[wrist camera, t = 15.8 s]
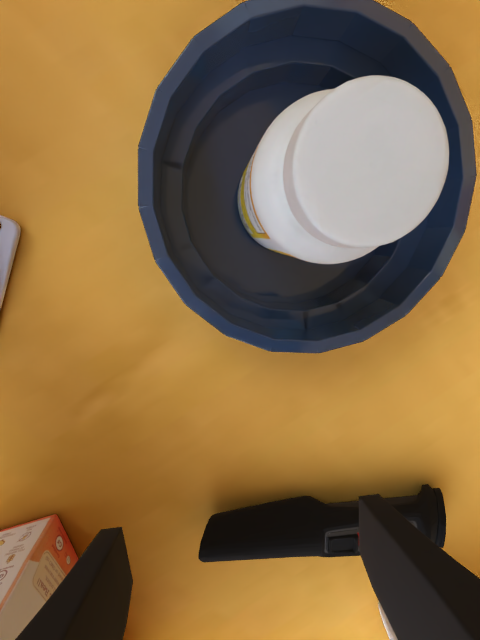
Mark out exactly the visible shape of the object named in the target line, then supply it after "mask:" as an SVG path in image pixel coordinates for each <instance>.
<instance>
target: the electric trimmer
mask: <svg viewBox="0 0 480 640" xmlns="http://www.w3.org/2000/svg"><path fill="white" fill-rule="evenodd" d="M383 499H385V500H386V501H387V502H388V503H389V504H390V505H391V506H392V507H394V508H395V509H396V510H397V511H398V512H399V513H400V514H401V515H403V516H404V517H405V518H406V519H407V520H408V521H409V522H410V523H412V524H413V525H414V526H415V527H416V528H417V529H418V530H420V531H421V532H422V533H423V534H424V535H425V536H427V537H428V538H429V539H430V540H431V541H433V542H434V543H435V544H436V545H437V546H439V547H441V548H443V546H444V542H445V535H446V513H445V506H444V500H443V495H442V492H441V490H440V488H433V489H432V488H431V487H430V486H429V485H428V484H425V485H422V489H421V491H420V492H419V493H418V495H412V496H403V497H393V498H383ZM359 555H360V552H359V501H350V502H339V503H329V504H325V503H323V502H321V501H318V500H316V499H314V498H312V497H310V496H301V497H295V498H289V499H284V500H279V501H274V502H269V503H264V504H259V505H254V506H249V507H245V508H240V509H235V510H230V511H225V512H220V513H217V514H214V515H212V516H211V517H210V519H209V521H208V523H207V525H206V528H205V531H204V534H203V537H202V540H201V543H200V549H199V559H200V561H202V562H216V561H233V560H250V559H268V558H285V557H306V556H320V557H340V556H359Z"/></svg>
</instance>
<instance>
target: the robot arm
mask: <svg viewBox="0 0 480 640" xmlns="http://www.w3.org/2000/svg"><path fill="white" fill-rule="evenodd" d="M0 223H1V229H0V310H1V306H2V303H3V299H4V295H5V291H6V287H7V283H8V279H9V276H10V272H11V268H12V264H13V260H14V256H15V253H16V249H17V245H18V241H19V237H20V233H21V229H20V226H19V224H18V223H17V222H16V221H14V220H12V219H10V218H7V217H4V216H2V215H0ZM359 552H360V555H361V557H362V560H363V563H364V566H365V568H366V571H367V574H368V577H369V579H370V582H371V584H372V587H373V590H374V592H375V594H376V596H377V598H378V600H379V602H380V604H381V606H382V608H383V610H384V613H385V615H386V617H387V619H388V621H389V623H390V625H391V627H392V629H393V631H394V633H395V635H396V637H397V639H398V640H480V579H479V578H478V577H477V576H475V575H474V574H473V573H471V572H470V571H469V570H467V569H466V568H465V567H464V566H462V565H461V564H460V563H458V562H457V561H456V560H455V559H453V558H452V557H451V556H450V555H448V554H447V553H446V552H445V551H443V550H442V549H441V548H440V547H439V546H437V545H436V544H435V543H434V542H433V541H431V540H430V539H429V538H428V537H427V536H425V535H424V534H423V533H422V532H421V531H420V530H418V529H417V528H416V527H415V526H414V525H413V524H412V523H410V522H409V521H408V520H407V519H406V518H405V517H404V516H403V515H401V514H400V513H399V512H398V511H397V510H396V509H395V508H394V507H392V506H391V505H390V504H389V503H388V502H387V501H386V500H385V499H383V498H382V497H381V496H380V495H379V494H374V495H366V496H359ZM132 584H133V579H132V574H131V570H130V565H129V560H128V555H127V550H126V545H125V540H124V535H123V530H122V527H117V528H109V529H101V530H100V532H99V533H98V534H97V535H96V537H95V538H94V539H93V541H92V542H91V543H90V545H89V546H88V547H87V549H86V550H85V551H84V553H83V554H82V556H81V557H80V558H79V560H78V561H77V562H76V564H75V565H74V566H73V568H72V569H71V570H70V572H69V573H68V574H67V576H66V577H65V578H64V580H63V581H62V582H61V583H60V585H59V586H58V587H57V589H56V590H55V591H54V592H53V594H52V595H51V596H50V598H49V599H48V600H47V601H46V603H45V604H44V605H43V606H42V608H41V609H40V610H39V611H38V613H37V614H36V615H35V616H34V617H33V619H32V620H31V621H30V622H29V623H28V625H27V626H26V627H25V628H24V629H23V631H22V632H21V633H20V634H19V635H18V637H17V638H16V639H15V640H123V636H124V632H125V627H126V623H127V617H128V611H129V605H130V598H131V591H132Z"/></svg>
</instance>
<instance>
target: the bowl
mask: <svg viewBox="0 0 480 640" xmlns="http://www.w3.org/2000/svg"><path fill="white" fill-rule="evenodd" d="M372 75H380V76H389V77H395V78H398V79H401V80H404V81H406V82H408V83H410V84H412V85H413V86H415V87H417V88H418V89H419V90H420V91H422V92H423V93H424V94H425V95H426V96H427V97H428V98H429V99H430V100H431V101H432V103H433V104H434V105H435V107H436V108H437V110H438V112H439V114H440V116H441V118H442V120H443V123H444V125H445V128H446V132H447V137H448V143H449V166H448V172H447V176H446V180H445V183H444V186H443V188H442V191H441V193H440V196H439V198H438V200H437V202H436V203H435V205H434V207H433V208H432V210H431V211H430V212H429V214H428V215H427V216H426V218H425V219H424V220H423V221H422V222H421V223H420V224H419V225H418V226H417V227H416V228H414V229H413V230H412V231H411V232H409V233H408V234H406V235H404V236H403V237H401V238H399V239H397V240H395V241H394V242H391V243H388V244H385V245H381V246H378V247H377V248H376V249H374V250H373V251H371V252H369V253H368V254H366V255H364V256H362V257H360V258H357V259H354V260H351V261H348V262H343V263H337V264H319V263H312V262H308V261H304V260H301V259H298V258H295V257H291V256H288V255H284V254H281V253H277V252H274V251H271V250H269V249H267V248H265V247H263V246H262V245H260V244H259V243H257V242H256V241H255V240H254V239H253V238H252V237H251V236H250V234H249V233H248V232H247V230H246V229H245V227H244V225H243V223H242V220H241V218H240V214H239V209H238V188H239V184H240V180H241V178H242V175H243V173H244V171H245V169H246V167H247V165H248V163H249V161H250V159H251V157H252V155H253V154H254V152H255V150H256V148H257V146H258V144H259V142H260V141H261V139H262V137H263V135H264V134H265V132H266V130H267V129H268V127H269V126H270V125H271V123H272V122H273V121H274V120H275V118H276V117H277V116H278V115H279V114H280V113H281V112H283V111H284V110H285V109H286V108H287V107H289V106H290V105H291V104H293V103H294V102H296V101H297V100H299V99H301V98H303V97H305V96H307V95H309V94H312V93H315V92H318V91H323V90H328V89H335V88H337V87H338V86H340V85H342V84H343V83H345V82H347V81H350V80H353V79H356V78H360V77H365V76H372ZM138 147H139V148H138V206H139V212H140V215H141V218H142V221H143V225H144V228H145V231H146V234H147V237H148V241H149V244H150V247H151V250H152V253H153V257H154V259H155V260H156V261H155V262H156V263H157V265H158V266H159V268H160V269H161V271H162V272H163V274H164V275H165V276H166V278H167V279H168V281H169V282H170V284H171V285H172V287H173V288H174V289H175V291H176V292H177V294H178V295H179V297H180V298H181V300H182V301H183V302H184V304H186V306H188V307H189V308H190V309H191V310H193V311H194V312H195V313H197V314H198V315H199V316H201V317H202V318H203V319H204V320H206V321H207V322H208V323H210V324H211V325H212V326H213V327H215V328H216V329H217V330H219V331H220V332H221V333H223V334H224V335H226V336H228V337H231V338H234V339H236V340H239V341H242V342H245V343H248V344H250V345H253V346H256V347H259V348H261V349H264V350H267V351H271V352H293V353H322V352H326V351H329V350H333V349H337V348H341V347H344V346H348V345H352V344H356V343H359V342H363V341H365V340H367V339H369V338H370V337H372V336H373V335H375V334H377V333H378V332H380V331H382V330H383V329H385V328H387V327H388V326H390V325H391V324H393V323H395V322H396V321H398V320H400V319H401V318H403V317H405V316H406V315H407V314H408V313H409V312H410V311H411V310H412V309H413V308H414V306H415V305H416V304H417V303H418V302H419V301H420V300H421V299H422V298H423V297H424V296H425V295H426V293H427V292H428V291H429V290H430V289H431V288H432V287H433V286H434V285H435V284H436V283H437V282H438V280H439V279H440V277H442V275H443V273H444V271H445V269H446V267H447V266H448V264H449V262H450V260H451V258H452V256H453V254H454V252H455V250H456V248H457V246H458V244H459V242H460V240H461V238H462V236H463V234H464V232H465V229H466V225H467V220H468V215H469V210H470V205H471V201H472V196H473V191H474V186H475V181H476V177H475V176H476V175H477V174H476V161H475V149H474V136H473V124H472V120H471V116H470V113H469V111H468V108H467V106H466V103H465V101H464V98H463V96H462V93H461V91H460V88H459V86H458V83H457V81H456V78H455V76H454V73H453V71H452V68H451V67H449V64H448V63H447V62H446V60H445V59H444V58H443V57H442V56H441V55H440V53H439V52H438V51H437V50H436V49H435V48H434V46H433V45H432V44H431V43H430V42H429V41H428V39H427V38H426V37H425V36H424V35H423V34H422V32H421V31H420V30H419V29H418V28H417V27H416V26H415V24H414V23H412V22H411V21H410V20H408V19H406V18H405V17H403V16H401V15H399V14H397V13H396V12H394V11H392V10H390V9H388V8H386V7H385V6H383V5H381V4H379V3H377V2H376V1H374V0H248V1H245V2H242V3H240V4H239V5H238V6H236V7H235V8H233V9H232V10H231V11H229V12H228V13H226V14H225V15H223V16H222V17H221V18H219V19H218V20H216V21H215V22H214V23H212V24H211V25H209V26H208V27H206V28H205V29H204V30H202V31H201V32H199V33H198V34H196V35H195V36H194V37H193V38H192V39H191V41H190V42H189V43H188V45H187V46H186V48H185V49H184V50H183V52H182V53H181V55H180V56H179V57H178V59H177V60H176V62H175V63H174V64H173V66H172V67H171V69H170V70H169V71H168V73H167V74H166V76H165V77H164V78H163V80H162V81H161V83H160V84H159V85H158V87H157V89H156V91H155V94H154V97H153V100H152V104H151V107H150V110H149V113H148V116H147V120H146V123H145V126H144V129H143V132H142V136H141V139H140V142H139V145H138Z"/></svg>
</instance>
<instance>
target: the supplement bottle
mask: <svg viewBox="0 0 480 640" xmlns="http://www.w3.org/2000/svg"><path fill="white" fill-rule="evenodd" d="M448 166H449V143H448V137H447V132H446V128H445V125H444V123H443V120H442V118H441V116H440V114H439V112H438V110H437V108H436V107H435V105H434V104H433V103H432V101H431V100H430V99H429V98H428V97H427V96H426V95H425V94H424V93H423V92H422V91H420V90H419V89H418V88H417V87H415V86H413V85H412V84H410V83H408V82H406V81H404V80H401V79H398V78H395V77H389V76H380V75H372V76H365V77H360V78H356V79H353V80H350V81H347V82H345V83H343V84H342V85H340V86H338V87H337V88H335V89H328V90H323V91H318V92H315V93H312V94H309V95H307V96H305V97H303V98H301V99H299V100H297V101H296V102H294V103H293V104H291V105H290V106H289V107H287V108H286V109H285V110H284V111H283V112H281V113H280V114H279V115H278V116H277V117H276V118H275V120H274V121H273V122H272V123H271V125H270V126H269V127H268V129H267V130H266V132H265V134H264V135H263V137H262V139H261V141H260V142H259V144H258V146H257V148H256V150H255V152H254V154H253V155H252V157H251V159H250V161H249V163H248V165H247V167H246V169H245V171H244V173H243V175H242V178H241V180H240V184H239V188H238V209H239V214H240V218H241V220H242V223H243V225H244V227H245V229H246V230H247V232H248V233H249V234H250V236H251V237H252V238H253V239H254V240H255V241H256V242H257V243H259V244H260V245H262V246H263V247H265V248H267V249H269V250H271V251H274V252H277V253H281V254H284V255H288V256H291V257H295V258H298V259H301V260H304V261H308V262H312V263H319V264H337V263H343V262H348V261H351V260H354V259H357V258H360V257H362V256H364V255H366V254H368V253H369V252H371V251H373V250H374V249H376V248H377V247H378V246H381V245H385V244H388V243H391V242H394V241H395V240H397V239H399V238H401V237H403V236H404V235H406V234H408V233H409V232H411V231H412V230H413V229H414V228H416V227H417V226H418V225H419V224H420V223H421V222H422V221H423V220H424V219H425V218H426V216H427V215H428V214H429V212H430V211H431V210H432V208H433V207H434V205H435V203H436V202H437V200H438V198H439V196H440V193H441V191H442V188H443V186H444V183H445V180H446V176H447V172H448Z"/></svg>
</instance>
